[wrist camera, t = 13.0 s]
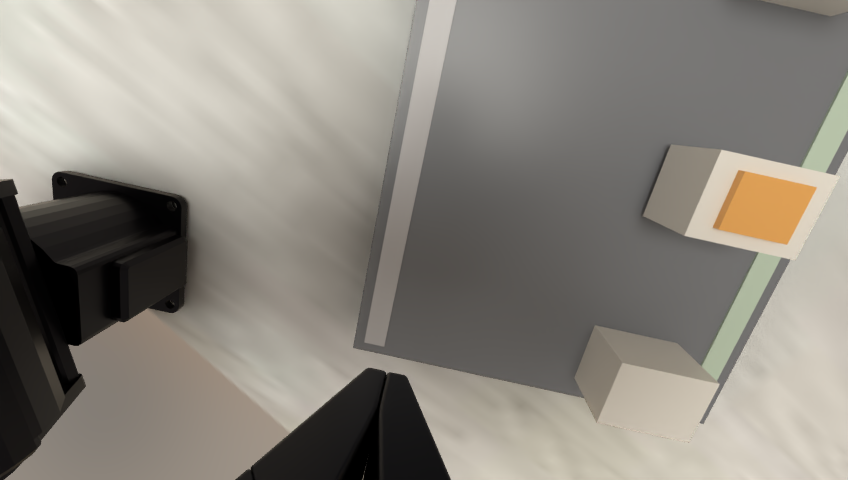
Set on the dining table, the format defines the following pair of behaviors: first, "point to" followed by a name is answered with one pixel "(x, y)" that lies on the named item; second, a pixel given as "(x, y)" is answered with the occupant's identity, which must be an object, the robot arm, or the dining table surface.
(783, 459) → the dining table surface
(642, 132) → the switch panel
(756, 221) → the switch
